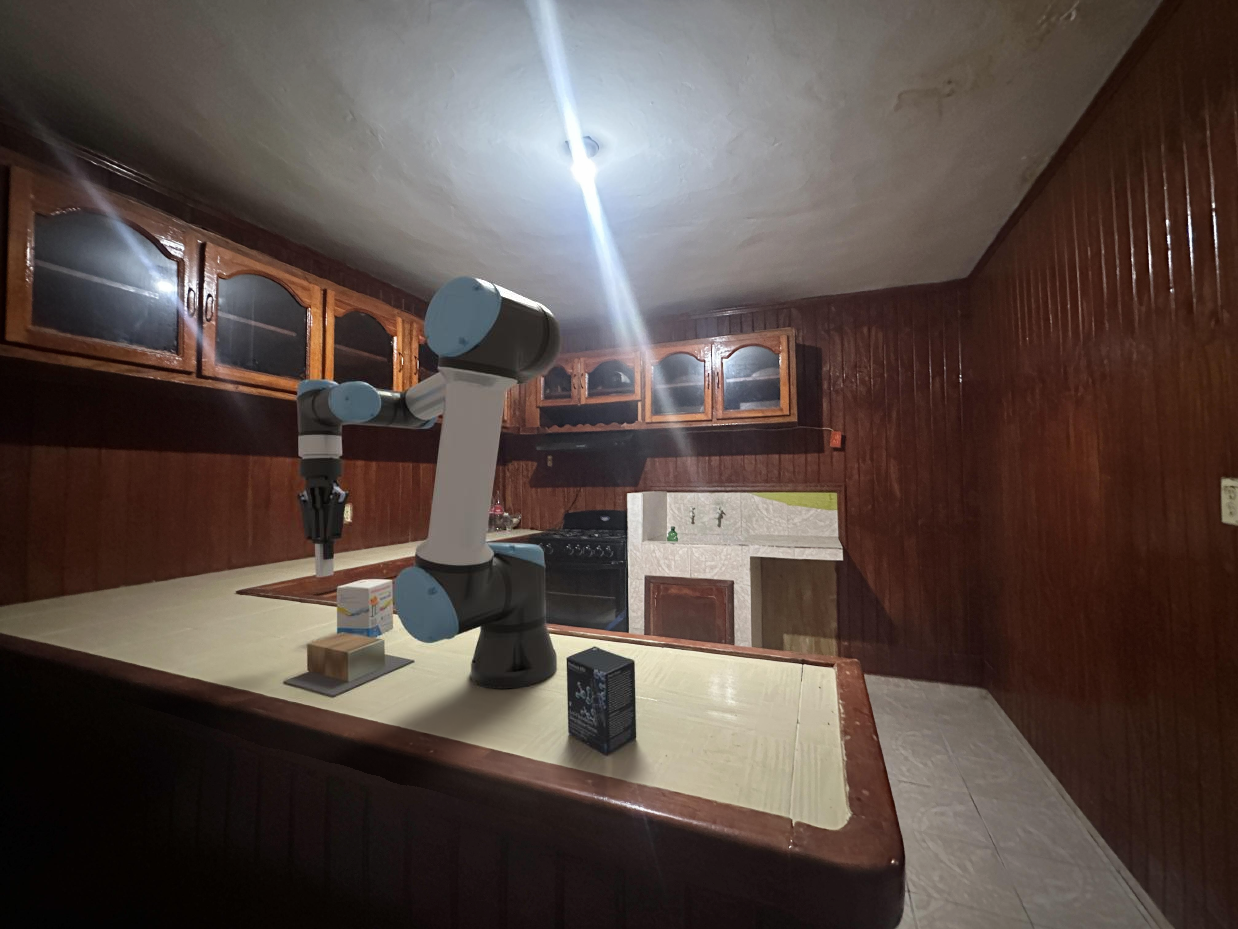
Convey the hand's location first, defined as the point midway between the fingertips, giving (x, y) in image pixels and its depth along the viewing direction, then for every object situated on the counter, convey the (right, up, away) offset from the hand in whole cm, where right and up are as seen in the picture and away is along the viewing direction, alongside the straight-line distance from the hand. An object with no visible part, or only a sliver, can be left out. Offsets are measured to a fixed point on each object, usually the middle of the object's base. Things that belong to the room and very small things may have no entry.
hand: (324, 575), depth 97 cm
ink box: (+1, -17, +15) cm, 22 cm away
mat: (+10, -16, -8) cm, 20 cm away
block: (+3, -13, -4) cm, 14 cm away
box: (+57, -15, -32) cm, 67 cm away
